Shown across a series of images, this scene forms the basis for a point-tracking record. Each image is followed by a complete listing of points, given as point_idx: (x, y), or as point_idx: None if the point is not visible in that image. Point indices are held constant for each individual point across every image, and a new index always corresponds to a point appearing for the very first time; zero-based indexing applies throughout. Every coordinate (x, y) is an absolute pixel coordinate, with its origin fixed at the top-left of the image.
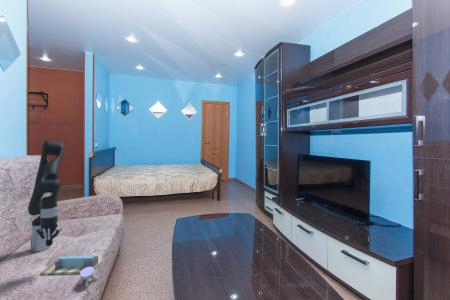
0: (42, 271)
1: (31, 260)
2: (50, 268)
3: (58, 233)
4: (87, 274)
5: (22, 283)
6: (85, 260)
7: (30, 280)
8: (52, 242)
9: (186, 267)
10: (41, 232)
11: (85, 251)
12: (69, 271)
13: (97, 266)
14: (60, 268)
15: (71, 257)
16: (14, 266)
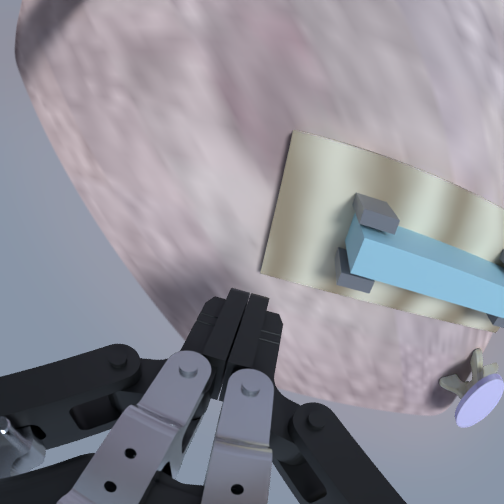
0: (265, 262)
1: (109, 67)
2: (299, 238)
3: (376, 491)
4: (475, 419)
5: None
6: (501, 318)
7: None
8: (279, 337)
9: None
10: (50, 437)
11: (431, 10)
12: (418, 309)
13: None
14: None
15: (444, 286)
16: (73, 129)
